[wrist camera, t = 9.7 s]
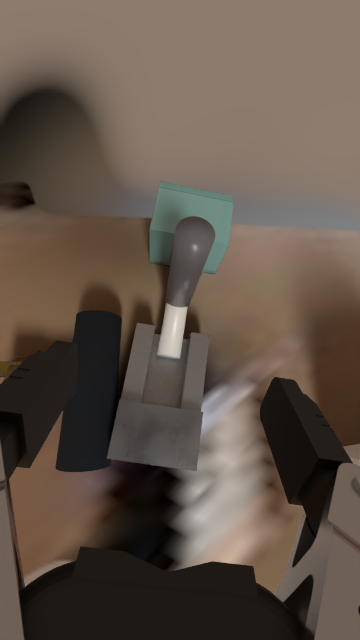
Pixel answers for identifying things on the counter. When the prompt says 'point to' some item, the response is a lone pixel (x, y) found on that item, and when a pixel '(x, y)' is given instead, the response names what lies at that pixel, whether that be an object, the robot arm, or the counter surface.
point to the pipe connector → (88, 393)
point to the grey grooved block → (161, 403)
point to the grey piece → (183, 280)
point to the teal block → (186, 203)
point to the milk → (353, 453)
